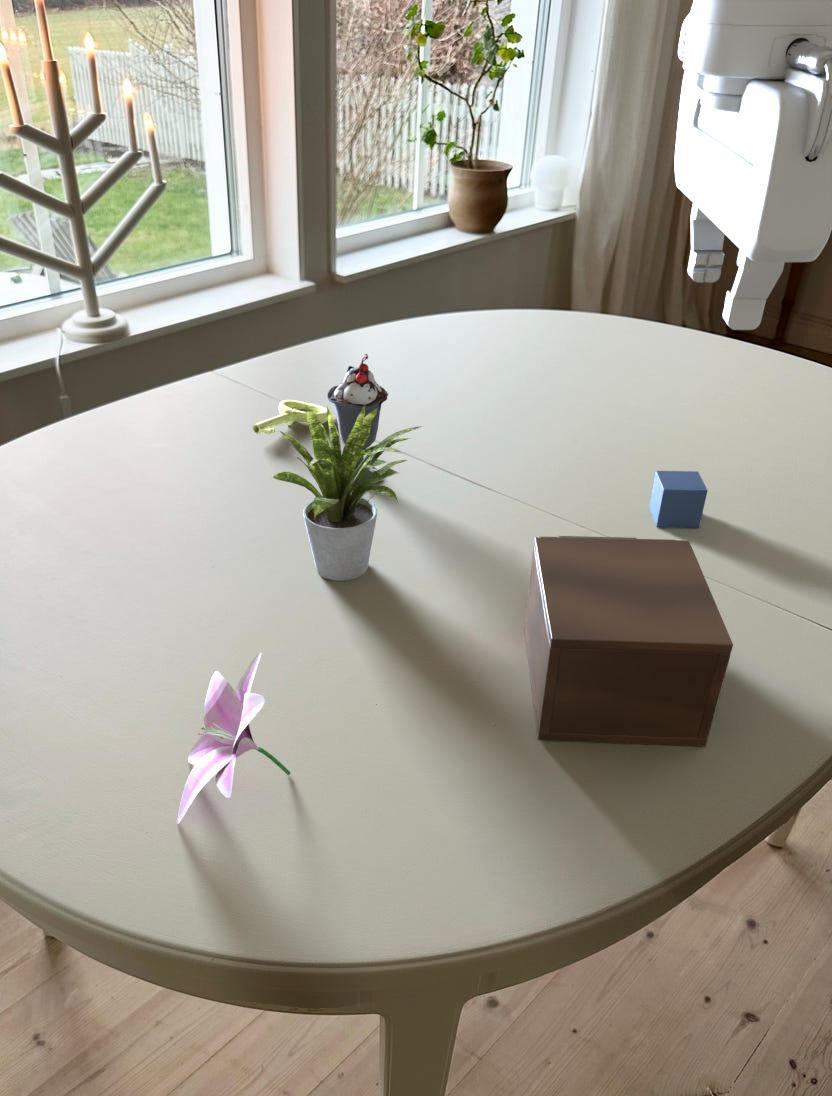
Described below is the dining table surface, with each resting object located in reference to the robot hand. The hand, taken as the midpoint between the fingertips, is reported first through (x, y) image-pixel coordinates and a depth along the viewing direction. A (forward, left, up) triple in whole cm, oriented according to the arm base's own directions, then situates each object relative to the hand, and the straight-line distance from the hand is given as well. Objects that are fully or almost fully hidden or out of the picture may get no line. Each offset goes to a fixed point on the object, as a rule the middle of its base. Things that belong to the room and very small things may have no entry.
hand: (719, 301), depth 58 cm
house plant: (+25, -18, -32) cm, 44 cm away
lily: (+31, +11, -32) cm, 46 cm away
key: (+35, -54, -32) cm, 72 cm away
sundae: (+25, -39, -32) cm, 56 cm away
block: (-9, -31, -32) cm, 45 cm away
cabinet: (+2, -2, -32) cm, 32 cm away
